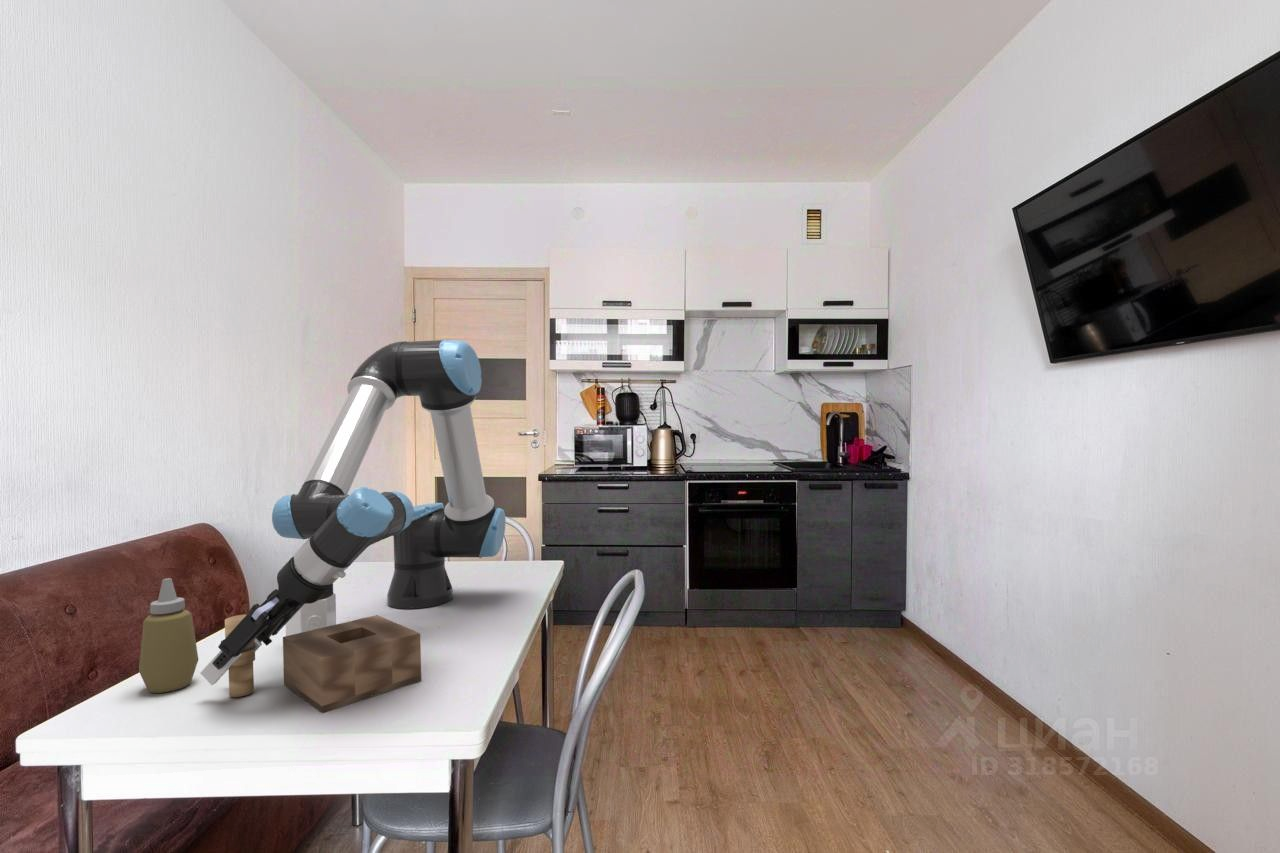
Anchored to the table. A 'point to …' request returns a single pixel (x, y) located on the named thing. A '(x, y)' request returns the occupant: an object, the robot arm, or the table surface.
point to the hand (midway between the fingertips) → (219, 672)
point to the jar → (314, 615)
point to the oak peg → (241, 664)
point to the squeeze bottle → (168, 643)
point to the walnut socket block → (351, 661)
